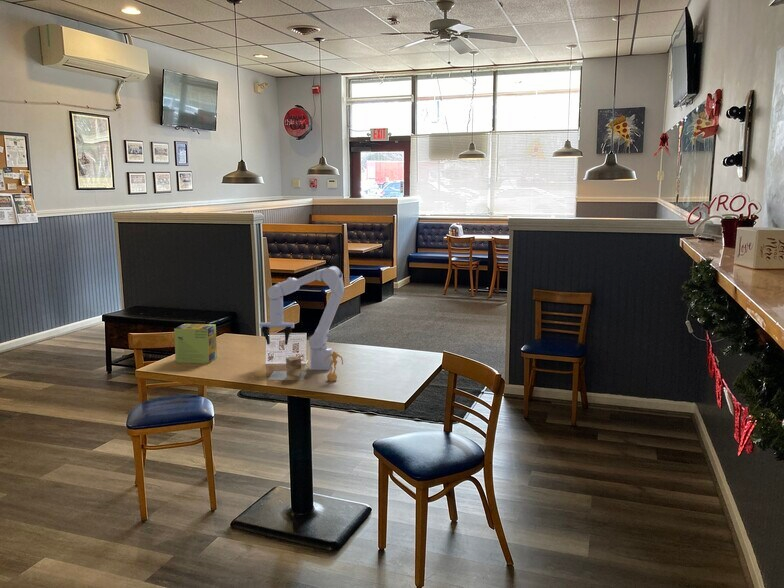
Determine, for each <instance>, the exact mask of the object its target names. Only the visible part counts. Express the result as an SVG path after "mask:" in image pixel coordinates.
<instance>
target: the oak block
mask: <svg viewBox="0 0 784 588" xmlns="http://www.w3.org/2000/svg"><path fill="white" fill-rule="evenodd" d="M286 371H287V380H286V381H300V380H299V379H300V377H301V371H302V368H301V369H295V370H290V369H288V368H286Z"/></svg>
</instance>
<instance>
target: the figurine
mask: <svg viewBox="0 0 784 588" xmlns="http://www.w3.org/2000/svg"><path fill="white" fill-rule="evenodd" d="M329 356H332V359H333V361H332V360H331V363H330V367H331V370H330V371H329V372H328V373H327V374H326V375H327V376H326V379H327V380H328V381H329V382H336V380H337V379H338V375H337V373H336V371H337V369H336V368H337V363H338V360H337V358H341V359H340V360H341V366H343V365H344V360H343V357H342V355H340V354H339V353H338V352H337V351H333V350H332V354H330V355H328V356H327V358H328V357H329ZM327 358H326V359H325V360H327ZM324 363H325V361H324ZM333 368H334V369H333Z"/></svg>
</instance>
